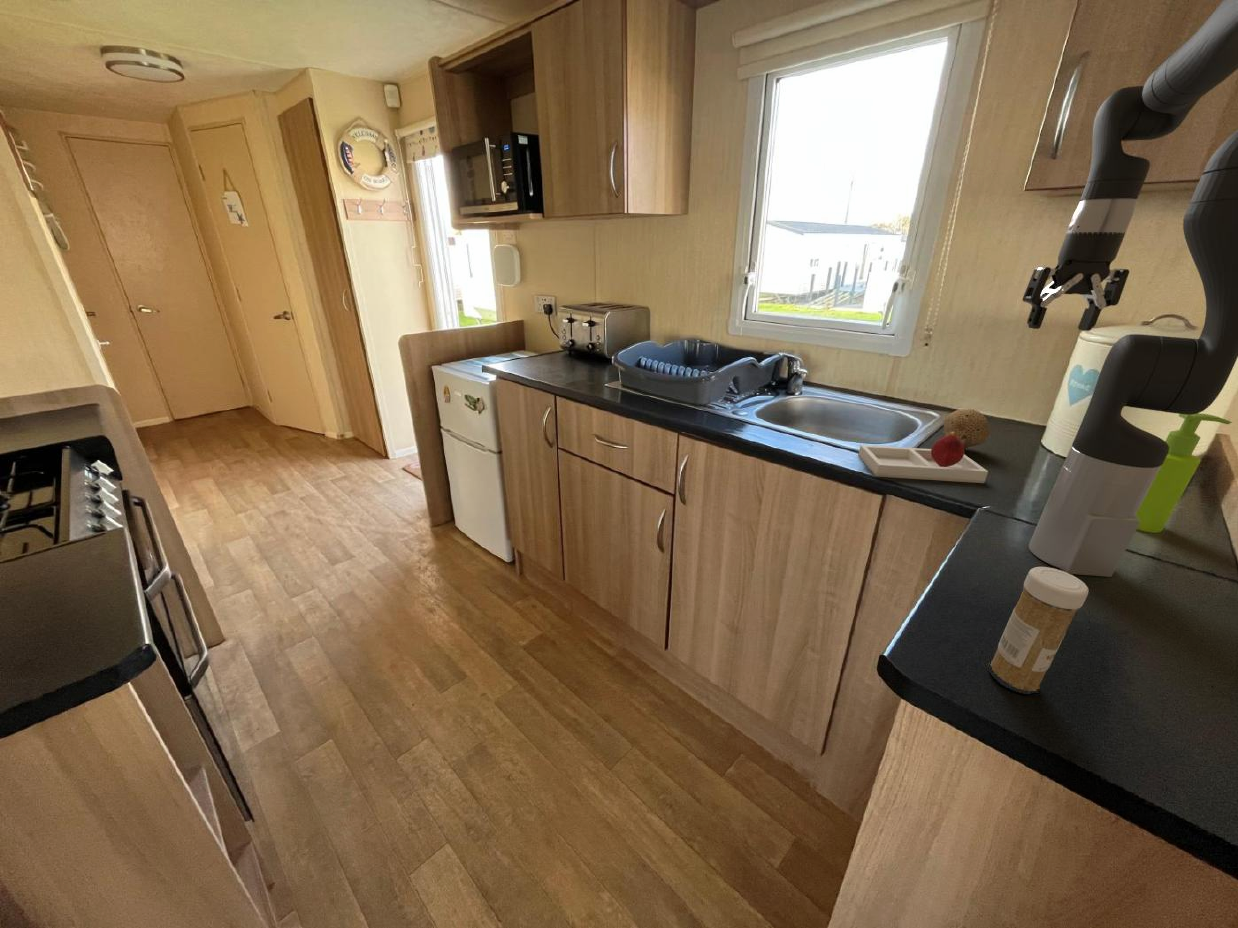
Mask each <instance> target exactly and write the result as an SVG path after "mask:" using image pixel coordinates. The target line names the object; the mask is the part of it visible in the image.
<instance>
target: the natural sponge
mask: <svg viewBox="0 0 1238 928" xmlns="http://www.w3.org/2000/svg"><path fill="white" fill-rule="evenodd" d="M988 423H989V422H988V420H987V418H986V417H985V416H984V414H983V413H981V412H980V411H979V410H977V409H974V408H967V409H966V408H965V409H964V408H962V409H957V410H955V411H952V412H951V413H950V414H949V413H948V415H947V416H946V417H945V418H944V421H943V434H944V437H946V436H948V435H949V434H950V432H955V433H956V437H957V438H958V439H959V440H960V441H961V442H962V443H963V446H964V450H966V449H968V448H970V447H977V446H980V445H982V444H984V443H985V442H987V441H988V439H989V437H990V435H991V434H990V433H991V432H990V427H989V424H988Z"/></svg>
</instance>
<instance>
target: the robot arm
mask: <svg viewBox="0 0 1238 928" xmlns="http://www.w3.org/2000/svg"><path fill="white" fill-rule="evenodd" d="M1237 70H1238V0H1222V1H1221V2H1220V3H1219V5H1218V6H1217V7H1216V9H1214V11H1213V13H1211V15H1210V16H1209V17H1208V18H1207V20H1206V21H1205V22H1204V23H1203V24H1202V25H1201V26H1200V27H1199V28H1198V29H1197V30H1196V31H1195V32H1194V33H1193V34H1192V36H1190V38H1189V39H1187V40H1186V41H1185V42H1183V44H1182V45H1180V47H1178V48H1177V50H1176V51H1174V52H1173V53H1172V54H1171V55H1170V56H1169V57H1168V58H1166V59H1165V60H1164V61H1163V62H1162V63H1161V64H1160V65H1159V66H1158V67H1157V68H1156V69H1155V70H1154V71H1153V72H1152V73H1151V74H1150V76H1149V77H1148V78H1147V79H1146V81H1145V83H1144V85H1138V86H1126V87H1122V88H1120V89H1119V88H1118V89H1117V90H1116V91H1114V92H1113V93H1111V94H1110V95H1108V97H1107V98H1106V99H1105V100H1104V101H1103V102H1102V103H1101V105H1100V107H1099V109H1098V110H1097V112H1096V114H1095V118H1094V120H1093V128H1092V129H1093V130H1092V147H1091V148H1092V149H1091V150H1092V152H1091V159H1090V160H1091V162H1090V167H1089V173H1088V177H1087V180H1086V183H1085V187H1084V189H1083V191H1082V195H1081V197H1080V201H1079V202H1078V205H1077V207H1076V209H1075V210H1074V212H1073V215H1072V217H1071V220H1070V223H1069V225H1068V228H1067V231H1066V233H1065V236H1064V239H1063V242H1062V245H1061V247H1060V250H1059V253H1058V255H1057V263H1056V266H1055V267H1053V268H1051V267H1050V266H1036V267H1035V268H1034V270H1033V272H1032V275H1031V277H1030V279H1029V281H1028V284H1027V286H1026V289H1025V292H1024V293H1023V296H1022V301H1023V302H1024V303H1026V304H1027V303H1028V304H1030V305H1031V310H1030V313H1029V315H1028V318H1027V321H1026V322H1027V323H1026V324H1027V325H1028V328H1029V329H1034V330H1038V329H1040V328H1041V327H1042V323H1043V321H1044V319H1045V315H1046V313H1047V310H1048V307H1047V306H1049V305H1050V304H1051V303H1052V302H1053V301H1055V300H1056V299H1058V298H1060V297H1062V296H1063V295H1080V296H1082V298H1084V299H1085V302H1086V305H1087V307H1086V308H1084V310H1083V311H1084V312H1083V313H1082V317H1081V318H1080V321H1079V323H1078V326H1077V329H1078V330H1079V331H1085V332H1087V331H1088V332H1090V331H1091V330H1092V328H1095V326H1096V324H1097V322H1098V320H1099V317H1100V315H1101V312H1102V311H1103V309H1104V308H1108V307H1110V306H1113V307H1114V306H1117V305H1118V304H1119V302H1120V300H1121V296H1122V294H1123V292H1124V288H1125V285H1126V282H1127V280H1128V277H1129V274H1130V270H1129V269H1126V268H1112V269H1111V265H1112V263H1113V261H1115V260H1116V258H1117V255H1118V253H1119V250H1120V248H1121V245H1122V243H1123V241H1124V238H1125V236H1126V233H1127V231H1128V228H1129V226H1130V223H1131V220H1132V219H1133V216H1134V212H1135V207H1136V204H1137V201H1138V198H1139V195H1140V193H1141V190H1142V188H1143V185H1144V183H1145V181H1146V178H1147V175H1148V173H1149V170H1150V167H1151V162H1150V161H1149V159H1147V158H1144V157H1140V156H1137V155H1136V156H1134V155H1131V154H1128V153H1126V152H1125V151H1124V149H1123V144H1122V142H1127V141H1128V142H1129V141H1133V142H1134V141H1150V140H1151V141H1152V140H1157V139H1160V138H1163V137H1165V136H1167V135H1169V134H1172V133H1173V132H1175V131H1176V130H1177V129H1178V128H1179V127H1180V126H1181V125H1182V123H1184V120H1185V119H1186V117H1187V116H1188V115H1189V113H1190V111H1191V110H1192V109H1193V108H1194V106H1196V104H1197V103H1198V101H1199V100H1201V98H1202V97H1204V96H1205V95H1206V94H1208V93H1209V92H1210V91H1212V90H1213V89H1214V88H1215V87H1217V86H1219V85H1220V84H1221V83H1222V82H1224V81H1225V80H1226V79H1228V77H1230V76H1231V75H1232V74H1234V73H1235V72H1236V71H1237ZM1196 185H1197V186H1196V188H1195V190H1194V193H1193V195H1192V197H1191V199H1190V201H1189V204H1188V206H1187V208H1186V211H1185V213H1184V216H1183V220H1182V227H1183V228H1182V229H1183V236H1184V239H1185V242H1186V245H1187V247H1188V250H1189V253H1190V255H1191V257H1192V260H1193V263H1194V265H1195V267H1196V270H1197V272H1198V274H1199V277H1200V280H1201V282H1202V287H1203V292H1204V297H1205V306H1206V307H1205V308H1206V309H1205V318H1204V323H1203V327H1202V330H1201V333H1200V336H1199V338H1191V337H1189V338H1188V337H1180V336H1179V337H1176V336H1164V335H1153V334H1139V333H1138V334H1136V333H1135V334H1134V333H1133V334H1127V335H1124V336H1122V337H1120V338H1119V339H1118V340H1117V341H1115V343H1114V344H1113V346H1112V347H1111V348H1110V350H1109V352H1108V353H1107V356H1106V358H1105V360H1104V362H1103V364H1102V368H1101V369H1100V372H1099V376H1098V377H1097V381H1096V384H1095V387H1094V389H1093V393H1092V396H1091V399H1090V401H1089V403H1088V406H1087V409H1086V412H1085V414H1084V416H1083V418H1082V421H1081V423H1080V425H1079V428H1078V430H1077V433H1076V434H1075V437H1074V439H1073V442H1072V443H1071V446H1070V449H1069V451H1068V453H1067V455H1066V458H1065V459H1064V462H1063V465H1062V466H1061V469H1060V472H1059V473H1058V476H1057V478H1056V480H1055V482H1054V486H1053V488H1052V490H1051V492H1050V494H1049V497H1048V499H1047V501H1046V504H1045V506H1044V509H1043V510H1042V513H1041V515H1040V518H1039V520H1038V522H1037V525H1036V527H1035V530H1034V532H1033V534H1032V537H1031V538H1030V541H1029V544H1028V549H1029V551H1030V552H1031V553H1032V554H1033V555H1034V556H1036V557H1037V558H1038V559H1040V560H1042V561H1043V562H1045V563H1047V564H1049V565H1051V566H1053V567H1054V568H1055V567H1056V568H1058V569H1059V570H1061V571H1064V572H1066V573H1068V574H1071V575H1081V576H1095V577H1109V578H1111V577H1112V576H1113V574H1114V572H1115V570H1116V569H1117V567H1118V565H1119V563H1120V562H1121V559H1122V557H1123V556H1124V554H1125V552H1126V550H1127V548H1128V547H1129V544H1130V542H1131V540H1132V539H1133V538H1134V535H1135V534H1136V531H1137V528H1138V526H1139V524H1140V520H1139V519H1138V518H1136V517H1135V515H1136V513H1137V511H1138V510H1139V508H1140V506H1141V504H1142V502H1143V500H1144V498H1145V496H1146V494H1147V492H1148V490H1149V489H1150V487H1151V485H1152V483H1153V481H1154V479H1155V477H1156V475H1157V474H1158V472H1159V470H1160V468H1161V466H1162V464H1163V462H1164V460H1165V459H1166V457H1167V455H1168V452H1169V445H1168V444H1167V443H1166V442H1165V441H1166V440H1164V439H1162V438H1160V437H1159V436H1157V435H1155V434H1152V433H1150V432H1148V431H1145V429H1141V428H1139V427H1138V426H1135V425H1133V424H1132V423H1130V422H1129V421H1128V420H1127V419H1126V418H1124V417H1123V415H1122V410H1123V409H1124V407H1128V408H1134V409H1141V410H1148V411H1157V412H1164V413H1171V414H1178V415H1179V414H1187V415H1192V414H1197V413H1201V412H1204V411H1205V410H1206V409H1208V408H1209V407H1210V406H1211V405H1212V404H1213V403H1214V402H1215V400H1216V399H1217V398H1218V397H1219V395H1220V393H1222V391H1223V389H1224V387H1225V386H1226V383H1227V381H1228V379H1229V377H1230V375H1231V373H1232V370H1233V369H1234V367H1235V364H1236V362H1237V360H1238V129H1236V131H1234V132H1233V133H1231V135H1230V136H1229V137H1228V138H1227V139H1226V140H1225V141H1223V142H1222V144H1221V145H1220V146H1218V148H1217V149H1216V150H1215V151H1214V152H1213V154H1212V155H1211V157H1210V158H1209V160H1208V161H1207V163H1206V166H1205V167H1204V169H1203V171H1202V175H1201V177H1200V179H1199V182H1197V184H1196ZM1050 279H1051V280H1052V282H1050V283H1049V284H1048V285H1047V286H1046V283H1047V281H1048V280H1050ZM1104 280H1105V281H1106V283H1105V285H1104V287H1103V285H1102V282H1104ZM1045 286H1046V287H1045Z"/></svg>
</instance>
